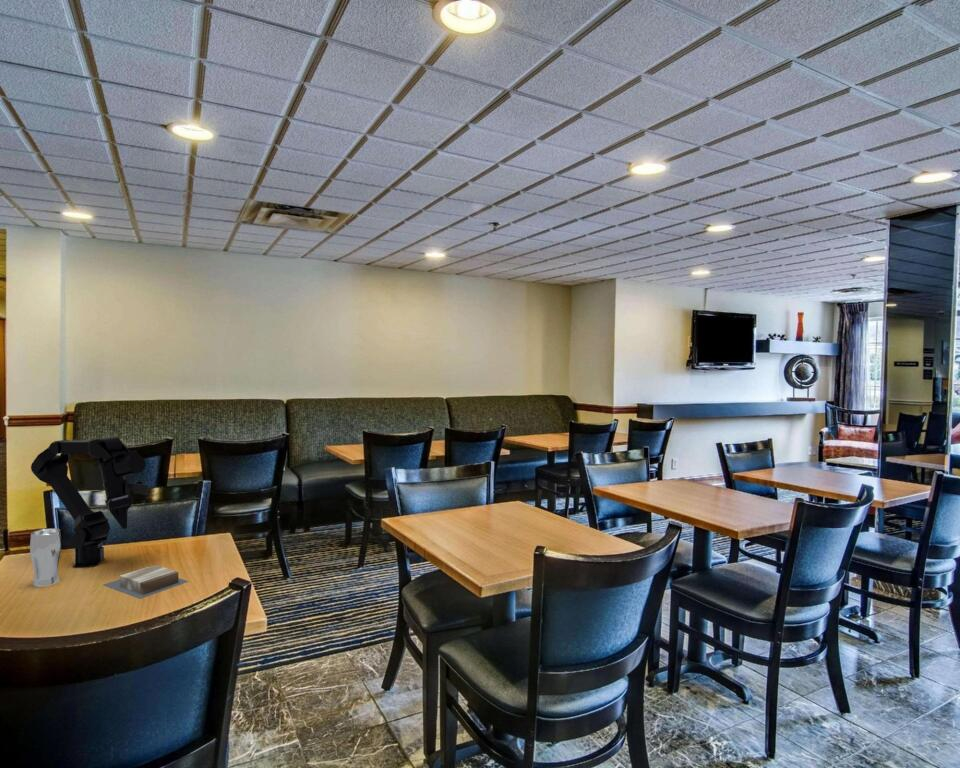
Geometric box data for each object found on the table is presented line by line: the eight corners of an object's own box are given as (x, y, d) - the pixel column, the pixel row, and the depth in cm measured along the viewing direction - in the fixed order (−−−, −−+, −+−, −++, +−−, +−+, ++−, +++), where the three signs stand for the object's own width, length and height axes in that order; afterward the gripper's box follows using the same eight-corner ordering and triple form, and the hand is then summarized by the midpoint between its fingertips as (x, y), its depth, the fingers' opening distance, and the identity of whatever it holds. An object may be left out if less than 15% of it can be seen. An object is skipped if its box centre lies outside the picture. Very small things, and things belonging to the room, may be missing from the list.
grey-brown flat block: (119, 575, 160) (143, 583, 154) (155, 564, 168) (178, 572, 163) (119, 586, 160) (143, 594, 155) (155, 574, 169) (178, 582, 163)
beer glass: (67, 581, 164) (67, 529, 163) (41, 590, 157) (41, 536, 156) (50, 578, 166) (49, 526, 165) (24, 587, 159) (23, 533, 159)
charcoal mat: (102, 586, 161) (102, 584, 161) (151, 571, 173) (151, 569, 173) (140, 600, 152) (140, 598, 152) (189, 583, 164) (189, 581, 164)
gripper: (147, 471, 171) (158, 522, 171) (140, 471, 186) (151, 518, 186) (103, 481, 165) (115, 534, 165) (100, 480, 180) (111, 529, 180)
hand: (125, 528), depth 174 cm, fingers closed
